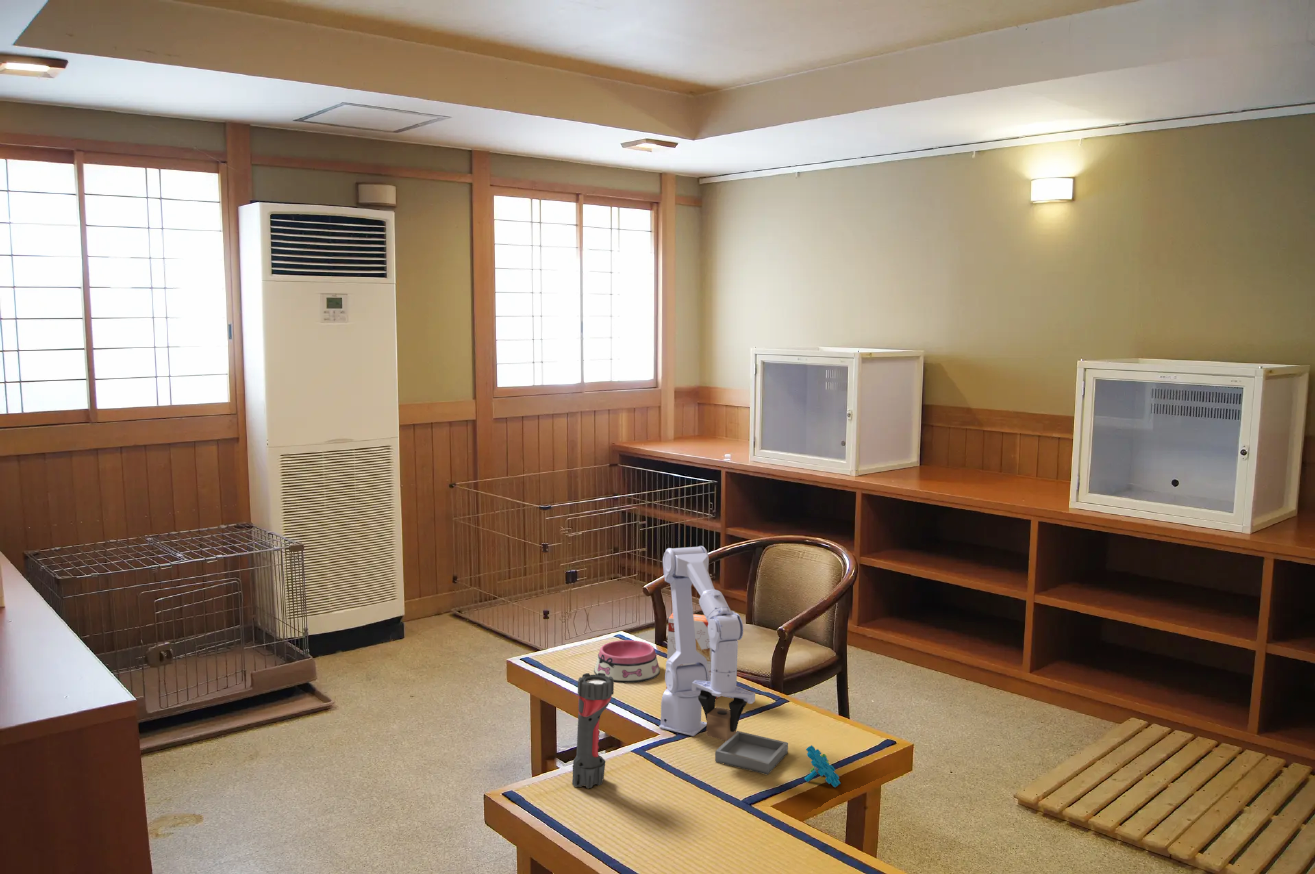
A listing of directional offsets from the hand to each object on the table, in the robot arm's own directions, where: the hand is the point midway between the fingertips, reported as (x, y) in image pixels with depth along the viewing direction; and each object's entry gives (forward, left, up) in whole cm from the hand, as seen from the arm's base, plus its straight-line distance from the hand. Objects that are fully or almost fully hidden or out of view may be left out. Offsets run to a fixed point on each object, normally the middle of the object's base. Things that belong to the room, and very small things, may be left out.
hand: (722, 727), depth 215 cm
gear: (+23, +3, -9) cm, 24 cm away
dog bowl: (-46, +39, -9) cm, 61 cm away
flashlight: (-20, -22, -9) cm, 31 cm away
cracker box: (-23, +34, -9) cm, 42 cm away
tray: (+5, +6, -8) cm, 12 cm away
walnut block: (0, 0, -2) cm, 2 cm away
